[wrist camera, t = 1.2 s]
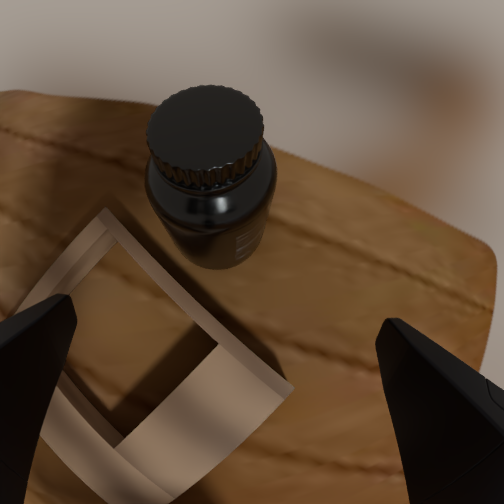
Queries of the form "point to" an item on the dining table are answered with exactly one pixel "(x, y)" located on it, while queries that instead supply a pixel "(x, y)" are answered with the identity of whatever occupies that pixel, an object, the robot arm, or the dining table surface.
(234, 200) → the supplement bottle
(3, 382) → the robot arm
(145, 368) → the dining table surface
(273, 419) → the dining table surface
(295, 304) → the dining table surface
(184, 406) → the tan flat square frame
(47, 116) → the dining table surface
